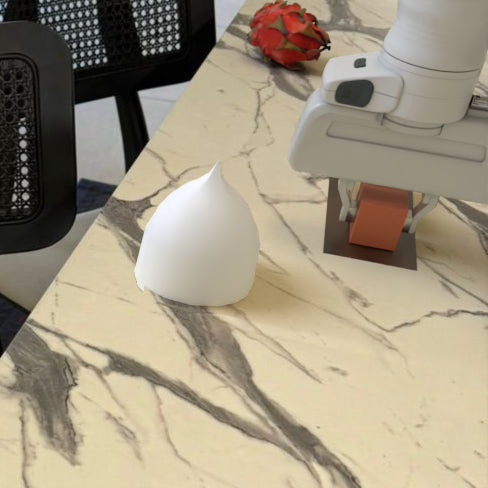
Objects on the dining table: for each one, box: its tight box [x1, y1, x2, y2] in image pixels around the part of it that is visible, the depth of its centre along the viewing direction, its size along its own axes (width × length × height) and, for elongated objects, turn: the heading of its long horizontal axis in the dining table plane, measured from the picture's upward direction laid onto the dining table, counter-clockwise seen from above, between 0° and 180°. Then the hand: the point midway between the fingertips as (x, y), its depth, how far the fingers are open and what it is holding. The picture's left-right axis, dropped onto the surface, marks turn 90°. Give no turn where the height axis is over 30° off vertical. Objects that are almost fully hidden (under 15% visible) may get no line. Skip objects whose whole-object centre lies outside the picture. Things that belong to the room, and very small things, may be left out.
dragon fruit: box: [246, 0, 332, 71], centre depth 138 cm, size 8×8×12 cm
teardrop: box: [133, 159, 261, 315], centre depth 91 cm, size 11×11×12 cm
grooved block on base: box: [322, 176, 418, 272], centre depth 106 cm, size 9×22×5 cm, turn 165°
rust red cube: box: [349, 183, 409, 251], centre depth 101 cm, size 4×4×4 cm
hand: (375, 224), depth 102 cm, fingers closed on rust red cube, 4 cm apart
